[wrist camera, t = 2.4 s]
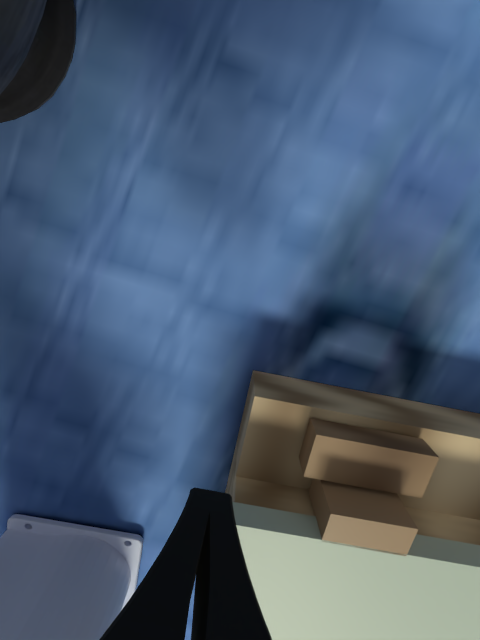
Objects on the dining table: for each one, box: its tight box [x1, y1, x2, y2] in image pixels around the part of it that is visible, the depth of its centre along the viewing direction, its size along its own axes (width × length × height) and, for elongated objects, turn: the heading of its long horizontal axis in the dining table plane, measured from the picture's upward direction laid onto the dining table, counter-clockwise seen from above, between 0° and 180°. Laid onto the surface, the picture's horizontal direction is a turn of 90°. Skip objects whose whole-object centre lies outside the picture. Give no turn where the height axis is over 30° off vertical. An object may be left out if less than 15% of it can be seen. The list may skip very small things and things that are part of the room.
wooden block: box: [299, 418, 439, 498], centre depth 15 cm, size 6×2×1 cm, turn 79°
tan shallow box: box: [225, 370, 480, 545], centre depth 18 cm, size 16×17×5 cm
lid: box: [232, 478, 480, 640], centre depth 16 cm, size 17×14×5 cm
